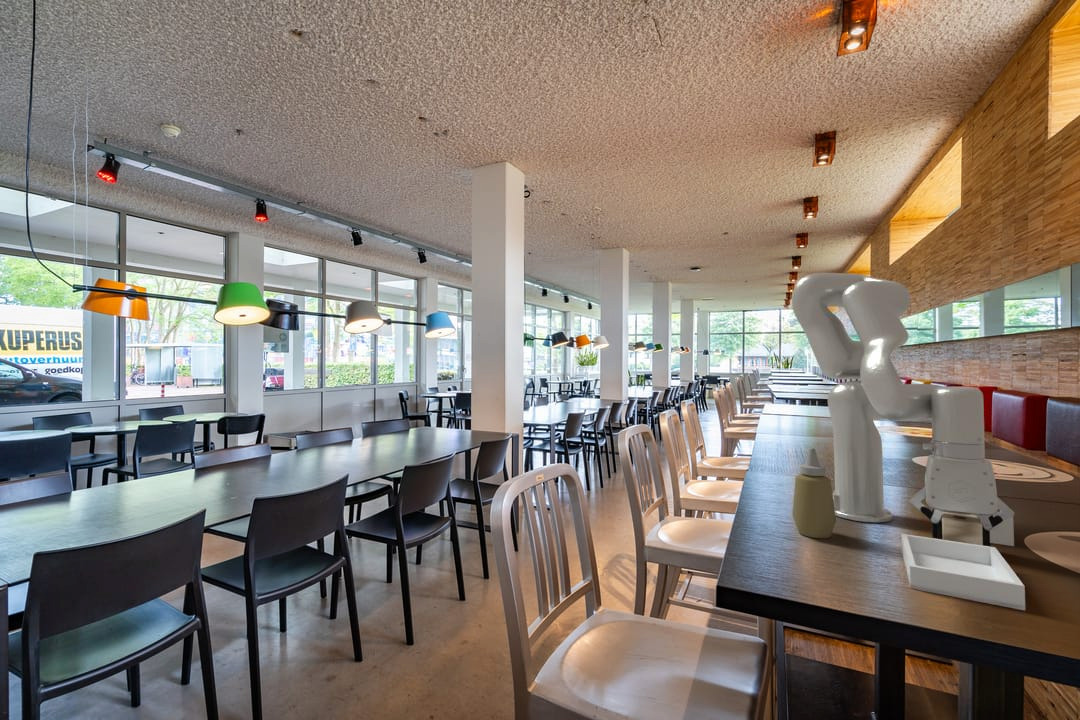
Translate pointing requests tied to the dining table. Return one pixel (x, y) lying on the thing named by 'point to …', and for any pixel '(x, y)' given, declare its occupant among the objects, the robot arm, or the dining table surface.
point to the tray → (961, 571)
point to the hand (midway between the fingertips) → (960, 544)
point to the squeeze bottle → (813, 499)
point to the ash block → (961, 528)
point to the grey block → (1002, 532)
